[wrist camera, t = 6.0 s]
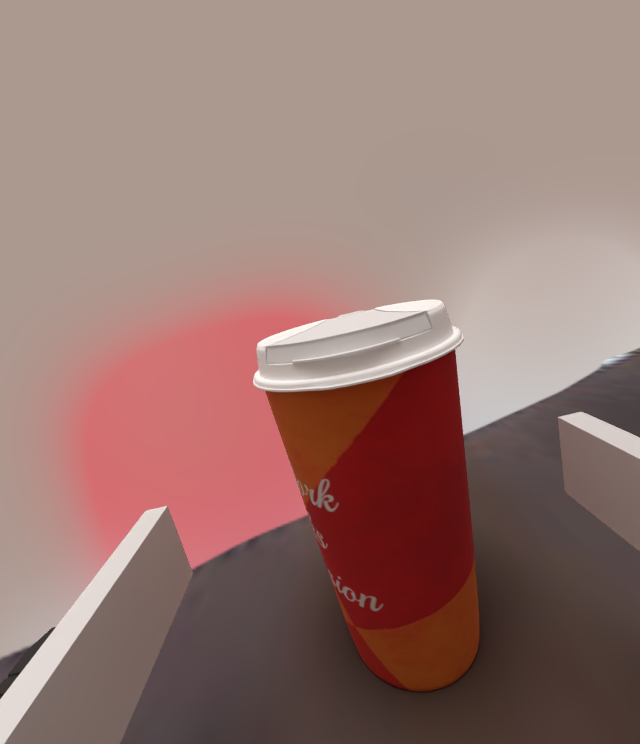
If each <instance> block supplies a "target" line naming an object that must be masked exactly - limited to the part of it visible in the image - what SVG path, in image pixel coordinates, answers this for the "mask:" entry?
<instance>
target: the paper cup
mask: <svg viewBox="0 0 640 744" xmlns="http://www.w3.org/2000/svg"><path fill="white" fill-rule="evenodd" d="M463 340H464V339H463V334H462V333H461V331H460V330H459V329H458V328H457V327H454V326H452V325H451V322H450V319H449V316H448V313H447V310H446V307H445V305H444V304H443V303H442V302H441V301H440V300H420V301H413V302H405V303H399V304H393V305H387V306H382V307H377V308H375V310H374V309H373V310H368V311H364V312H363V310H361V311H357V312H353V313H349V314H344V315H339V316H338V317H337V318H333V319H329V320H327V319H325V320H321V321H317V322H314V323H310V324H306V325H303V326H300V327H296V328H293V329H290V330H287V331H284V332H281V333H278V334H275V335H273V336H270V337H268V338H266V339H264V340H262V341H260V342H259V343H258V346H257V359H258V366H259V370H258V371H257V372H256V373H255V375H254V380H253V383H254V385H255V387H257V388H258V389H261V390H265V391H266V394H267V397H268V400H269V403H270V406H271V409H272V411H273V415H274V417H275V420H276V423H277V426H278V429H279V432H280V435H281V437H282V440H283V443H284V446H285V449H286V452H287V455H288V458H289V460H290V463H291V466H292V469H293V472H294V475H295V478H296V481H297V483H298V487H299V489H300V492H301V495H302V498H303V501H304V504H305V507H306V510H307V512H308V515H309V518H310V521H311V524H312V527H313V530H314V533H315V536H316V538H317V541H318V544H319V547H320V550H321V553H322V556H323V558H324V561H325V564H326V567H327V570H328V573H329V576H330V578H331V581H332V584H333V587H334V590H335V592H336V595H337V598H338V601H339V604H340V606H341V609H342V612H343V615H344V617H345V620H346V623H347V625H348V628H349V631H350V633H351V636H352V639H353V641H354V643H355V646H356V648H357V650H358V652H359V654H360V656H361V658H362V660H363V661H364V663H365V664H366V665H367V667H368V668H369V669H370V670H371V671H372V672H373V673H374V674H375V675H376V676H377V677H379V678H380V679H381V680H383V681H384V682H386V683H388V684H390V685H392V686H394V687H397V688H400V689H403V690H408V691H416V692H425V691H433V690H437V689H440V688H443V687H446V686H448V685H450V684H452V683H453V682H455V681H456V680H458V679H459V678H460V677H461V676H463V675H464V674H465V672H466V671H467V670H468V669H469V668H470V666H471V664H472V663H473V661H474V659H475V656H476V654H477V650H478V646H479V637H480V625H479V606H478V592H477V581H476V569H475V557H474V546H473V535H472V524H471V513H470V502H469V492H468V481H467V471H466V460H465V450H464V439H463V429H462V418H461V407H460V397H459V387H458V375H457V365H456V355H455V349H456V348H457V347H458V346H460V345H461V343H462V342H463Z"/></svg>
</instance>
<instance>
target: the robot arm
mask: <svg viewBox="0 0 640 744" xmlns="http://www.w3.org/2000/svg"><path fill="white" fill-rule="evenodd" d="M558 424H559V434H560V445H561V455H562V466H563V476H564V487H565V492H566V493H567V494H568V495H569V496H571V497H572V498H573V499H574V500H576V501H577V502H578V503H579V504H581V505H582V506H583V507H584V508H586V509H587V510H588V511H589V512H591V513H592V514H593V515H594V516H596V517H597V518H598V519H599V520H601V521H602V522H603V523H605V524H606V525H607V526H608V527H610V528H611V529H612V530H613V531H615V532H616V533H617V534H618V535H620V536H621V537H622V538H623V539H625V540H626V541H627V542H628V543H630V544H631V545H632V546H633V547H635V548H636V549H637V550H639V551H640V438H639V437H637V436H635V435H633V434H631V433H628V432H626V431H624V430H622V429H619V428H617V427H615V426H613V425H610V424H608V423H606V422H604V421H601V420H599V419H597V418H595V417H592V416H590V415H588V414H586V413H583V412H578V413H574V414H570V415H565V416H561V417H558ZM192 575H193V572H192V569H191V567H190V564H189V562H188V559H187V556H186V554H185V551H184V548H183V546H182V543H181V540H180V538H179V535H178V533H177V530H176V527H175V525H174V522H173V519H172V516H171V514H170V511H169V509H168V506H165V507H161V508H156V509H152V510H148V511H145V512H144V514H143V515H142V516H141V518H140V519H139V520H138V521H137V523H136V524H135V525H134V527H133V528H132V529H131V531H130V532H129V533H128V534H127V536H126V537H125V538H124V540H123V541H122V542H121V544H120V545H119V546H118V547H117V549H116V550H115V551H114V553H113V554H112V555H111V556H110V558H109V559H108V560H107V562H106V563H105V564H104V566H103V567H102V568H101V569H100V571H99V572H98V573H97V575H96V576H95V577H94V579H93V580H92V581H91V582H90V584H89V585H88V586H87V588H86V589H85V590H84V592H83V593H82V594H81V595H80V597H79V598H78V600H77V601H76V602H75V603H74V604H73V606H72V607H71V608H70V610H69V611H68V612H67V614H66V615H65V616H64V617H63V619H62V620H61V621H60V623H59V624H58V625H57V626H56V627H54V628H52V629H50V630H49V631H48V632H47V633H46V634H45V635H44V636H43V637H42V638H41V639H40V640H38V641H37V642H36V643H35V644H34V645H33V646H32V647H31V648H30V649H28V650H27V652H26V653H25V654H24V655H23V657H22V658H21V659H20V660H19V662H18V663H17V664H16V665H15V667H14V668H13V669H12V670H11V672H10V673H9V674H8V678H7V679H5V680H3V682H2V683H1V684H0V744H120V743H121V740H122V738H123V736H124V733H125V731H126V729H127V726H128V724H129V722H130V719H131V717H132V715H133V712H134V710H135V708H136V705H137V703H138V701H139V698H140V696H141V694H142V691H143V689H144V687H145V684H146V682H147V680H148V677H149V675H150V673H151V670H152V668H153V666H154V664H155V661H156V659H157V657H158V654H159V652H160V650H161V647H162V645H163V643H164V640H165V638H166V636H167V633H168V631H169V629H170V626H171V624H172V622H173V619H174V617H175V615H176V612H177V610H178V608H179V605H180V603H181V601H182V598H183V596H184V594H185V591H186V589H187V587H188V584H189V582H190V580H191V578H192Z"/></svg>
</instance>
